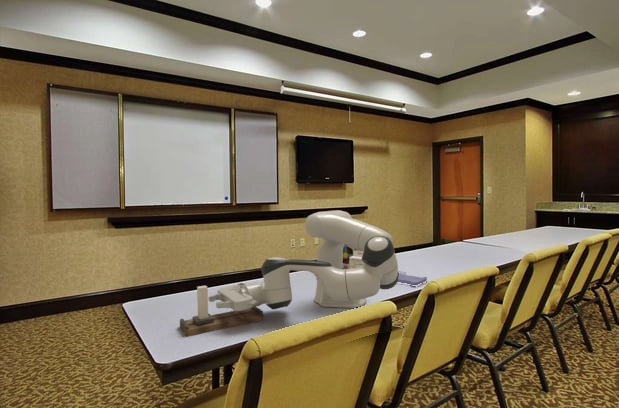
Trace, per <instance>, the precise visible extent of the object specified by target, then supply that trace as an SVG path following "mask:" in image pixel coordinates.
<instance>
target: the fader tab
mask: <svg viewBox="0 0 619 408" xmlns="http://www.w3.org/2000/svg"><path fill="white" fill-rule="evenodd" d="M208 290H209V289H208V286H207V285H201V286H200V285H199V286H196V292H197V293H196V295H197V298H196V299H197V315H195V316H194V315H193V316H192V318H191V319H193V321H194V323H195V324H196V325H201V324H206V323H210V322H214V318H213V317H212V316H211V315H212V314H211V313H209V296H208Z"/></svg>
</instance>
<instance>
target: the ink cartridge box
mask: <svg viewBox="0 0 619 408" xmlns="http://www.w3.org/2000/svg"><path fill="white" fill-rule="evenodd" d="M357 253H362V254H357ZM362 255H363V251H353V256H352V257H349V269H352V268H358V267H360V266H362V265H363V263H364V262H363V261H362Z"/></svg>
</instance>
